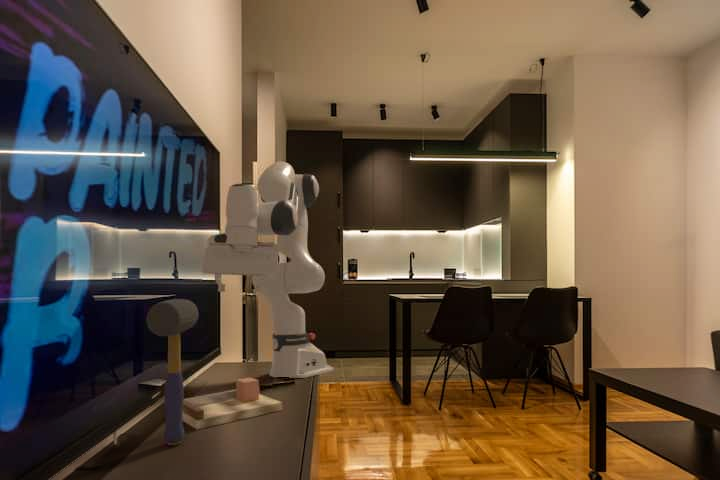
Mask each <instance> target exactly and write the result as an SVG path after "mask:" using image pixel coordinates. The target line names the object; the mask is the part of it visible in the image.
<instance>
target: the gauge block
mask: <svg viewBox="0 0 720 480" xmlns="http://www.w3.org/2000/svg"><path fill="white" fill-rule="evenodd" d="M259 381H260V380H259V379H257V378H254V377H253V378H252V377H245V378H238V379H236V381H235V382H236V383H235V385H236V387H235V388H236V399H238V400H240V401H243V402H249V401H254V400H259V394H260V385H259V383H260V382H259Z"/></svg>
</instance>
